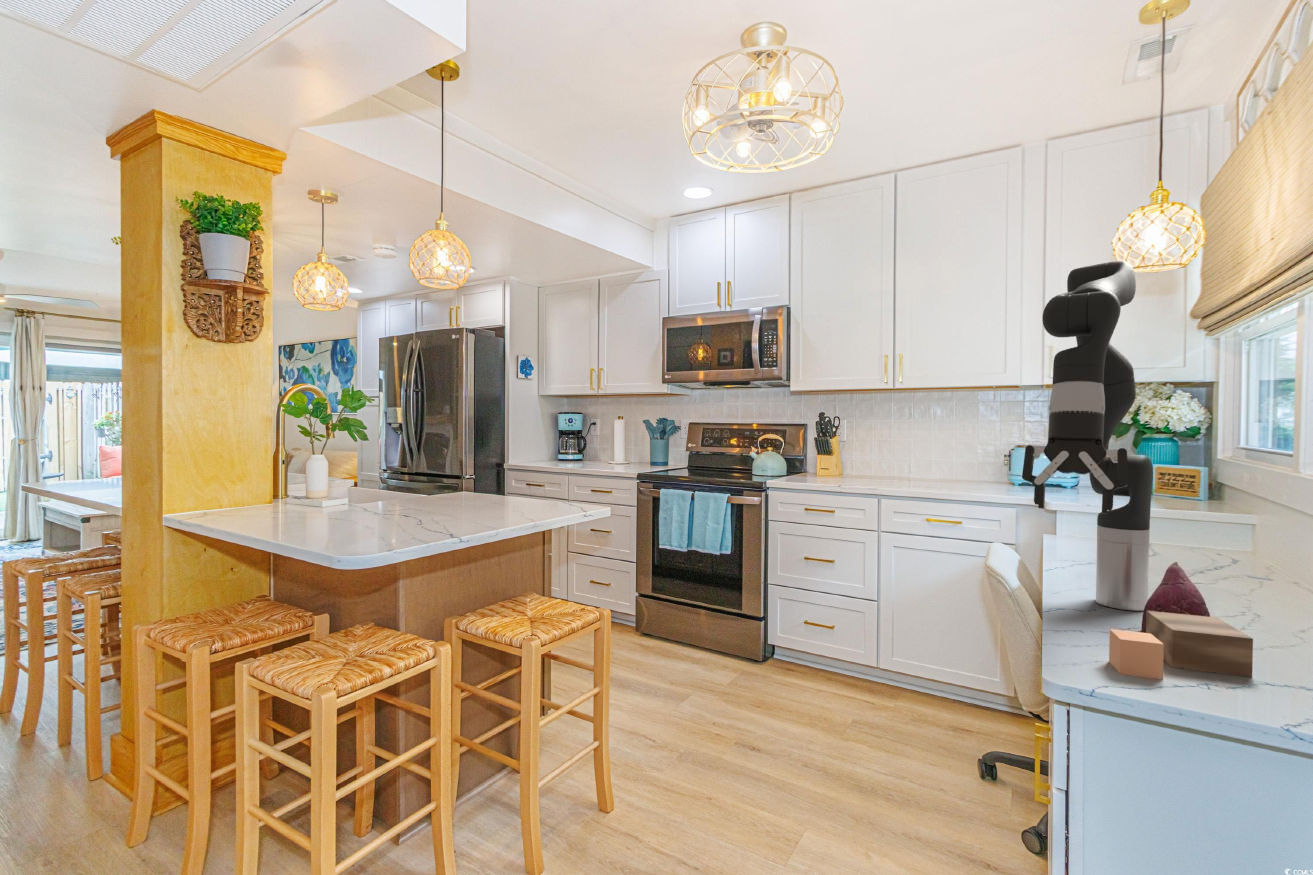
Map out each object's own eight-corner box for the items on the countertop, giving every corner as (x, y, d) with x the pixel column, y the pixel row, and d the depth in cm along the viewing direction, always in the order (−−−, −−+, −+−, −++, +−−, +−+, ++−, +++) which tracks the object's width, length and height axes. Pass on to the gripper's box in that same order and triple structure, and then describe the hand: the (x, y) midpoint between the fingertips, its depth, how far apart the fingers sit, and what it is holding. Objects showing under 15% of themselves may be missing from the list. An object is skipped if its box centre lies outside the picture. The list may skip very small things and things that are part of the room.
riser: (1145, 643, 111) (1146, 610, 111) (1216, 652, 107) (1217, 617, 107) (1172, 667, 100) (1172, 629, 99) (1252, 677, 96) (1252, 638, 96)
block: (1109, 662, 102) (1109, 628, 102) (1150, 667, 100) (1150, 633, 100) (1119, 674, 97) (1120, 639, 97) (1163, 679, 94) (1163, 644, 94)
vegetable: (1144, 641, 122) (1134, 564, 126) (1215, 646, 115) (1201, 564, 119) (1141, 640, 114) (1130, 558, 118) (1216, 646, 108) (1202, 558, 112)
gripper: (1130, 416, 100) (1126, 516, 99) (1028, 415, 109) (1023, 507, 108) (1131, 408, 94) (1127, 515, 93) (1023, 408, 103) (1018, 505, 102)
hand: (1071, 510), depth 100 cm, fingers open, 8 cm apart
